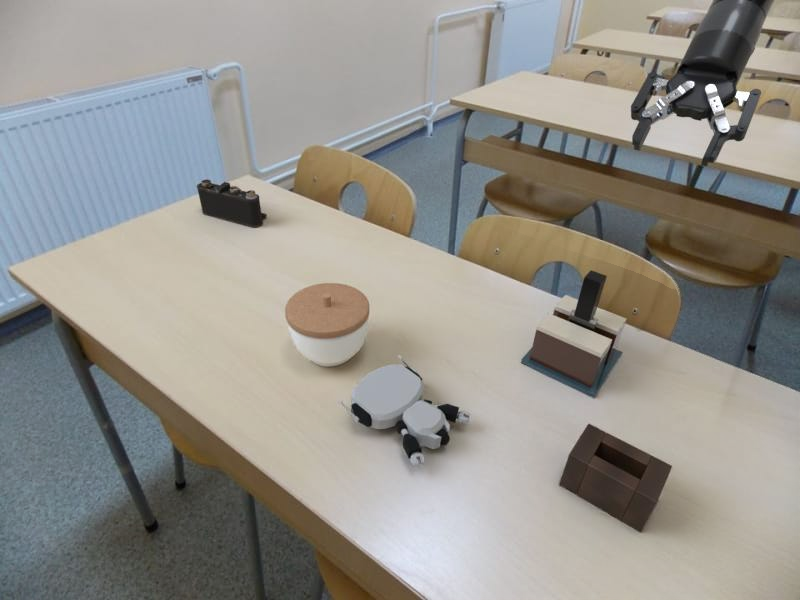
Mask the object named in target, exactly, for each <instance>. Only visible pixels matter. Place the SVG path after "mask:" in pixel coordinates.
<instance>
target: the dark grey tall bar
mask: <svg viewBox="0 0 800 600" xmlns="http://www.w3.org/2000/svg"><path fill="white" fill-rule="evenodd" d="M607 277H608V275H606V274H602V273H600V272H597V271H594V270H591V269H590V270H589V271H588V273H587V274H586V275H585V276H584V278H583V281H582V285H581V288H580V292H579V295H578V298H577V299H578V302H577V306H576V310H574V309H573V310H572V311H571V313H570V316H569V320H568V321H569V322H571V323H573V324H576V325H578V326H581V327H583V328H585V329H588V330H590V331H593V332H595V328H596V325H597V322H598V319H596V318H593V317H594V315H595V313H596V310H597V307H598V308H599V303H600V301H601V297H602V295H603V294H602V293H603V291H604V287H605V284H606V281H607Z"/></svg>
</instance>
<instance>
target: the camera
mask: <svg viewBox="0 0 800 600" xmlns="http://www.w3.org/2000/svg"><path fill="white" fill-rule="evenodd" d="M196 189H197V193H198V198H199V202H200V206H201V212H202V214H203V215H205V216H208V217H213V218H216V219H219V220H223V221H227V222H231V223H235V224H238V225H241V226H246V227H250V228H252V229H253V228H254V229H255V228H259V227H263V225H264V220H266V218H267V213H265V212H264V213H263V212H262V208H261V201H260V195H259V194H258V193H256V191H255V190H252V189H251V190H247V191H246V190H242V189H241V188H240V187H239V186H236V185H231V183H230V182H227V181H224V182H222V183H221V184H216V183H212V181H211V180H210V179H203V180H201V182H200V183H198V184H196Z"/></svg>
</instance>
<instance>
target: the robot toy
mask: <svg viewBox="0 0 800 600" xmlns="http://www.w3.org/2000/svg"><path fill="white" fill-rule="evenodd" d="M397 358H398V359H399V360H400V361H401V362H402V363H403V364H404V365H403V364H397V363H394V364H393V363H392V364H388V365H383V366H381V367H378V368H376V369H374V370H371V371H370V372H368V373H367V374H365V375H364V376H363V377H362V378H361V379H360V380H359V381H358V382H357V383H356V385H355V386H354V387H353V389H352V390H351V394H350V404H349V405H350V409H349V408H348V406H347V405H346V404H345V403H344V402H343V400H342V399H341V398H339V397H337V398H336V399H337V402H338V403H339V404H341V406H342V407H343V408H344V409H345V410H346V411H347V412H348V413H349V414H350V416H351V417H352V418H353V420H354V421H355V423H359V424H361V425H363V426H365V427H366V428H372V429H375V430H385V429H390V428H392V427H395V429H396V431H397V433H398V434H401V435H402V437H403V438H402V447H403V451H404V452H405V454H406V456H407V458H408V460H410V463H411V464H412V465H413V466H414V467H420V465H421V466H423V465H424V464H425V463H426V457H425V456H424V455H423V454H422V447H427V448H429V449H432V450H436V449H439V448H440V446H441V447H444V446H447V445H448V444H449V442H450V439H451V437H450V434H449V432H450V428H451V427H450V426H451V424H450V423H449V422H451V423H454V424H455V423H456V421H459V422H460V423H461V424H467V423H469V422H470V417H471V415H470V413H469V412H468V411H466V410H460V407H459V406H456V405H452V404H450V403H444V404H440V405H436V404H433V401H432V400H429V399H426V398H424V399H423V396H424V391H425V384H424V382H423V378H422V376H421V375H420V373H419V372H418V371H417V370H415V369H414V368H412V366H411V365H409V363H408V362H407V361H405V359H404V358H403V357H402V356H401V355H400V354H397Z"/></svg>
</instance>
